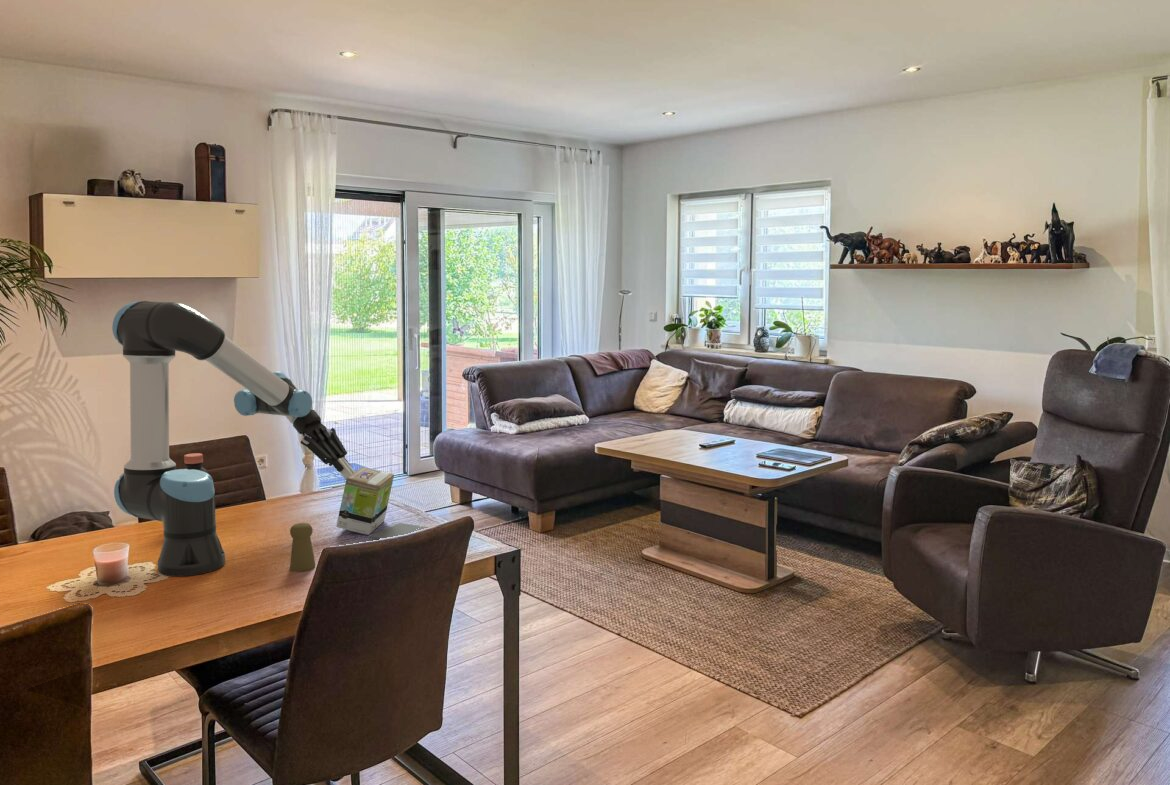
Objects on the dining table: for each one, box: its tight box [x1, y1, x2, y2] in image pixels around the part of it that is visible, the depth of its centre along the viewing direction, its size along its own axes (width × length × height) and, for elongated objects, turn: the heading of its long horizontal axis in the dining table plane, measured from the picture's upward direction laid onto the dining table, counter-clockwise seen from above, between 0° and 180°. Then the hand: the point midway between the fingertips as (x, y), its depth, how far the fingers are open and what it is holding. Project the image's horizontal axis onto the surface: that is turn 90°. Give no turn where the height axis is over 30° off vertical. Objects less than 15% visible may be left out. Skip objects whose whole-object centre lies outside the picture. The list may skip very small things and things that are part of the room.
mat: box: [368, 522, 428, 540], centre depth 237 cm, size 14×10×1 cm
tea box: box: [335, 466, 395, 536], centre depth 242 cm, size 15×10×15 cm, turn 177°
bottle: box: [183, 452, 208, 473], centre depth 246 cm, size 7×7×20 cm
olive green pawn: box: [289, 522, 316, 573], centre depth 209 cm, size 6×6×11 cm
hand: (352, 477), depth 245 cm, fingers closed
